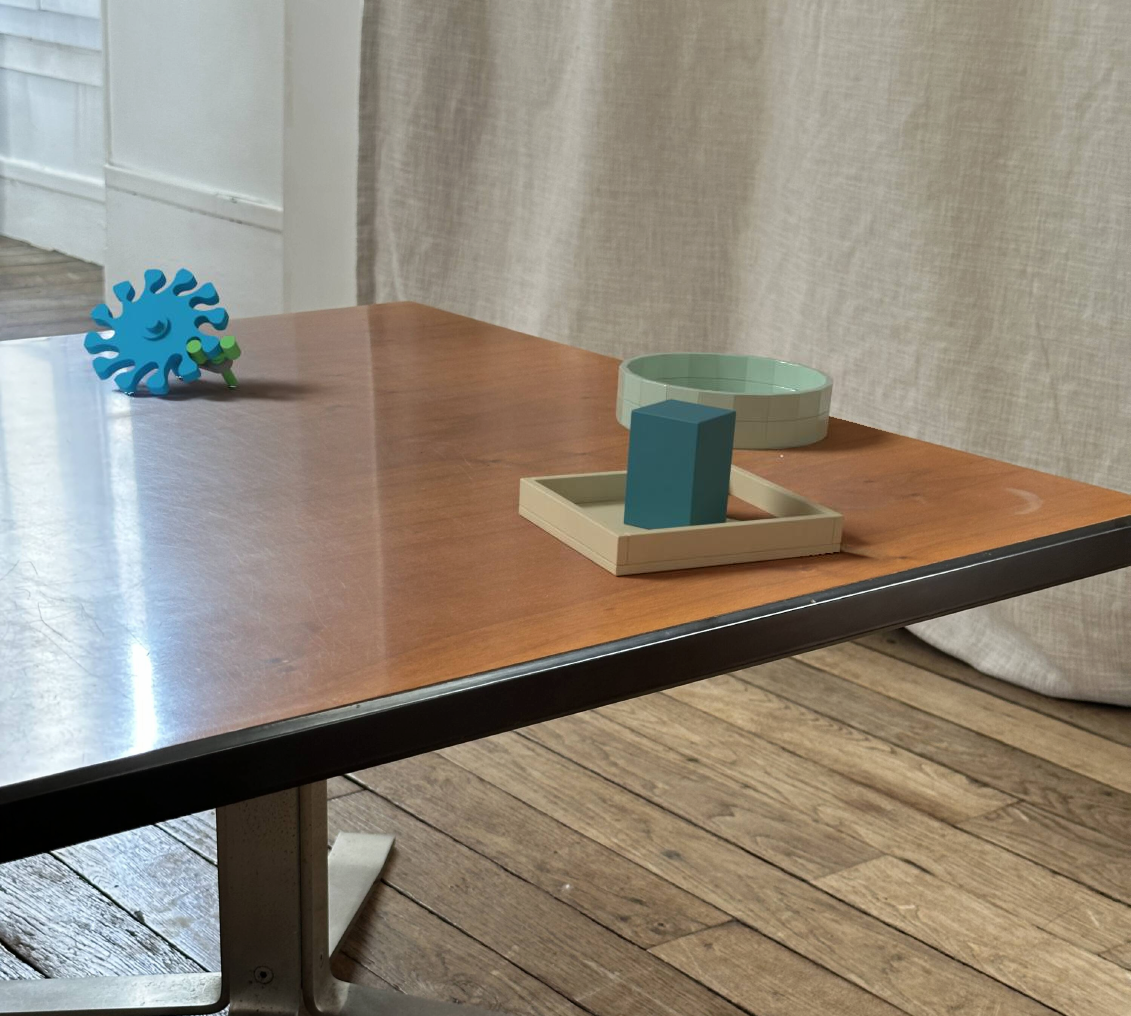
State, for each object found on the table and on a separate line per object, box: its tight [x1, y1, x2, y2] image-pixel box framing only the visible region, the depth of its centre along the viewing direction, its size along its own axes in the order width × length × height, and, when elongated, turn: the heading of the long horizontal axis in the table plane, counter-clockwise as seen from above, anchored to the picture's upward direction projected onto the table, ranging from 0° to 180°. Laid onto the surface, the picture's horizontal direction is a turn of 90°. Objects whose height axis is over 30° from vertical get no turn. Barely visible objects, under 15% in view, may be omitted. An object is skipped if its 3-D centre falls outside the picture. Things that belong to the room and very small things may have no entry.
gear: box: [83, 267, 242, 396], centre depth 111 cm, size 11×6×10 cm
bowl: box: [615, 351, 834, 450], centre depth 106 cm, size 14×14×4 cm
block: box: [623, 399, 736, 530], centre depth 83 cm, size 4×4×6 cm
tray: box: [518, 463, 845, 577], centre depth 84 cm, size 13×11×2 cm
